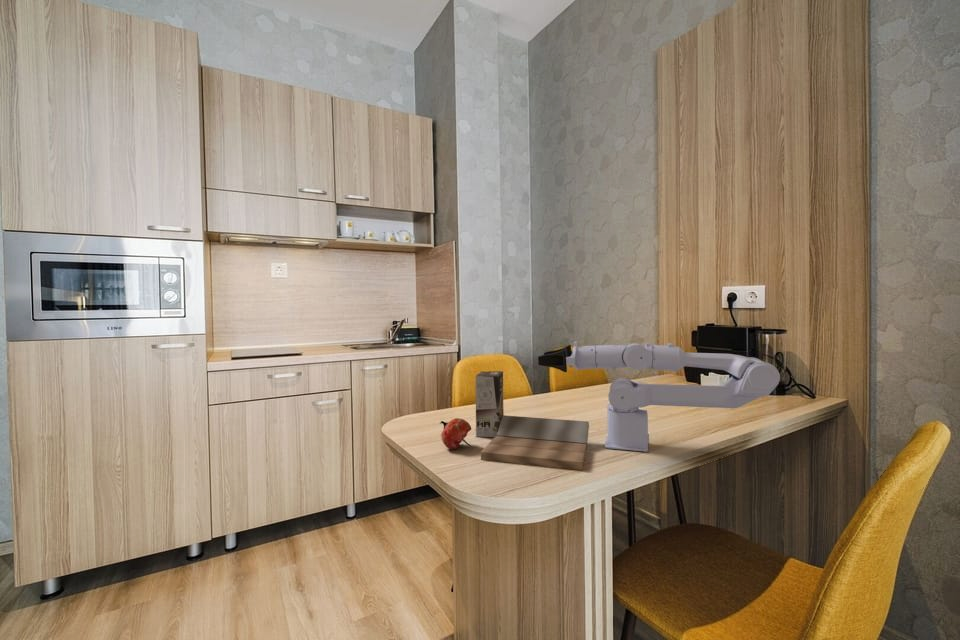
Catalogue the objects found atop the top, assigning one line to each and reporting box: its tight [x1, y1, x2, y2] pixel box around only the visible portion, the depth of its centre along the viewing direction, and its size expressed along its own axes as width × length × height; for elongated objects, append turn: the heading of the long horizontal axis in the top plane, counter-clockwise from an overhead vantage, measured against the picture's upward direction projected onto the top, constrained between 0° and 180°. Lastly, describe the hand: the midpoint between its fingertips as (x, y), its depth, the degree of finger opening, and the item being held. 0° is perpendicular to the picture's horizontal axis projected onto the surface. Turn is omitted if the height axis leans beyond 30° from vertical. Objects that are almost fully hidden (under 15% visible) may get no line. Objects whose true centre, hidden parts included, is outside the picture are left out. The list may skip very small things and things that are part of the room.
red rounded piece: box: [439, 417, 474, 451], centre depth 103 cm, size 7×7×10 cm
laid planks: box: [480, 436, 588, 471], centre depth 97 cm, size 22×12×2 cm, turn 71°
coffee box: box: [474, 370, 505, 439], centre depth 114 cm, size 9×6×16 cm
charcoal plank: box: [497, 414, 590, 445], centre depth 106 cm, size 22×7×2 cm
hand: (541, 358), depth 109 cm, fingers open, 7 cm apart
